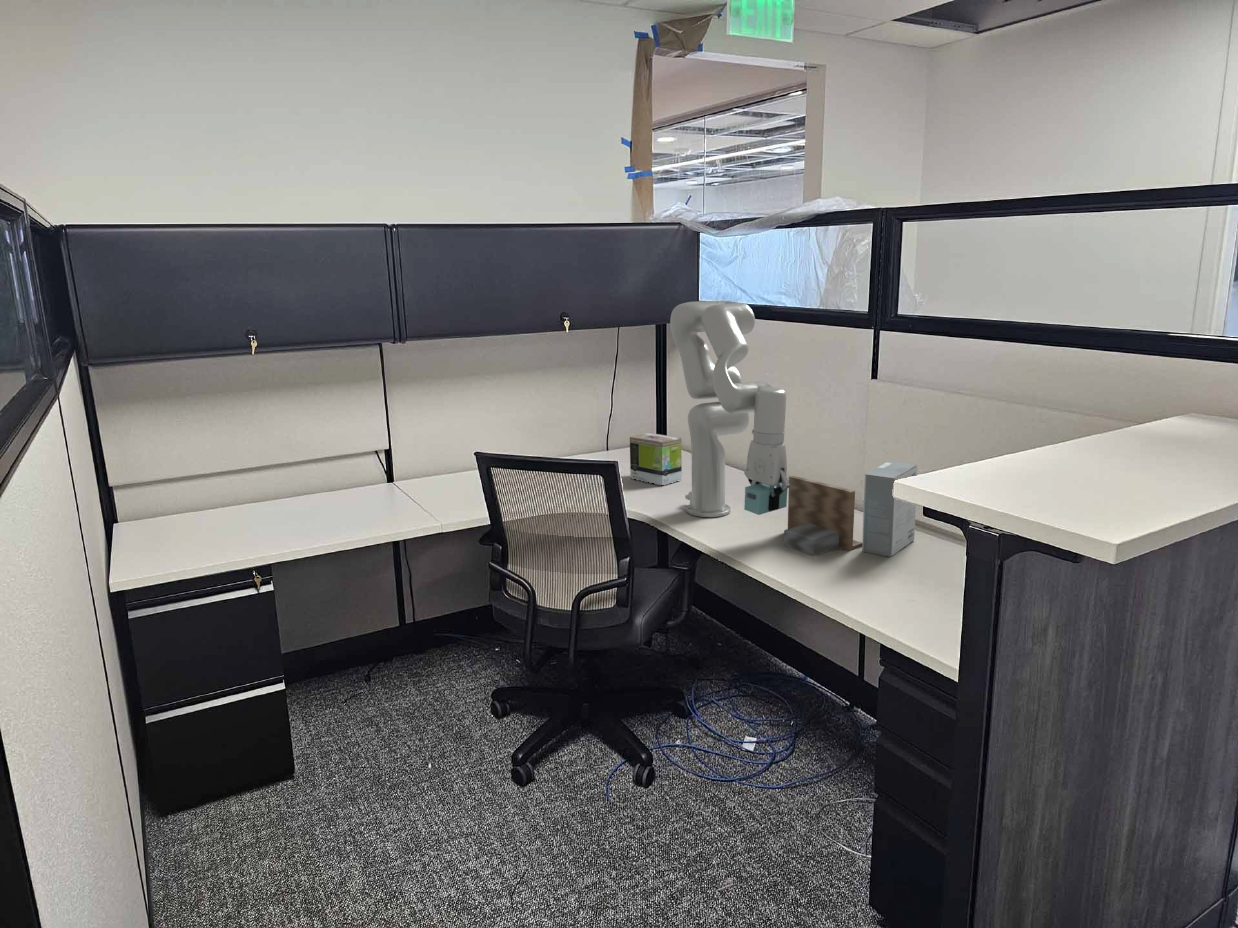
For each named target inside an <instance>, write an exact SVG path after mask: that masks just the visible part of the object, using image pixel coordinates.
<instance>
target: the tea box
mask: <svg viewBox="0 0 1238 928" xmlns="http://www.w3.org/2000/svg"><path fill="white" fill-rule="evenodd" d="M629 459H630V460H629V463H630V465H629V466H630V467H629V469H630V479H631V478H632V479H631V480H634V479H636V480H635V481H639V480H641V481H640V482H643V481H644V482H645V483H648V482H649V483H648V484H652V483H654V485H657V486H661V485H664V486H667V485H666V484H668V483H672V482H675V483H677V482H676V481H678V480H681V481H682V475H683V474H682V461H683V460H682V438H681V437H678V436H671V435H665V434H660V433H659V434H658V433H652V432H647V433H642V434H638V435H633V436H629ZM672 484H673V483H672ZM668 485H669V484H668Z"/></svg>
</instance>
